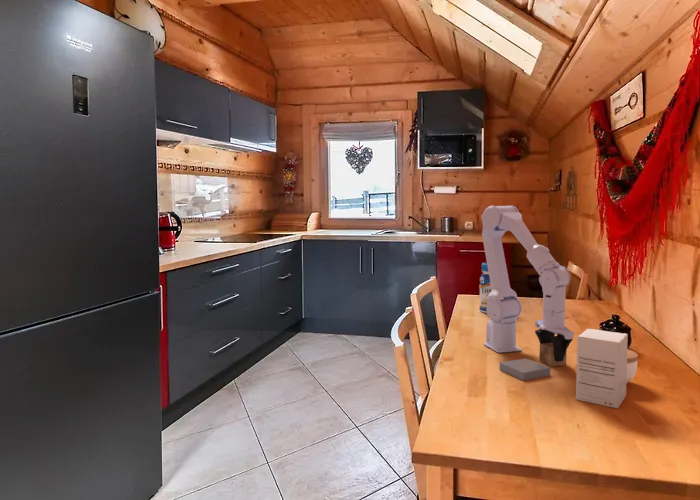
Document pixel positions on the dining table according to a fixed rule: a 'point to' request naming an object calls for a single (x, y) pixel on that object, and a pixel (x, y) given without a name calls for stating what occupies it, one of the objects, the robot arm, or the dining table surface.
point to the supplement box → (601, 367)
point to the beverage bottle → (484, 288)
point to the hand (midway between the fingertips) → (552, 357)
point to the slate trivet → (524, 369)
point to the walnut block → (549, 355)
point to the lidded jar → (631, 364)
